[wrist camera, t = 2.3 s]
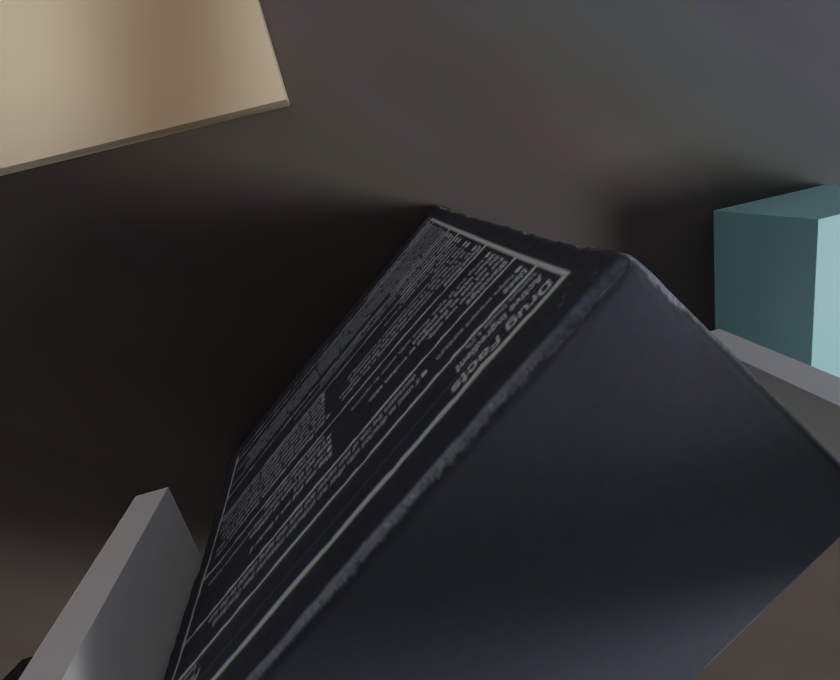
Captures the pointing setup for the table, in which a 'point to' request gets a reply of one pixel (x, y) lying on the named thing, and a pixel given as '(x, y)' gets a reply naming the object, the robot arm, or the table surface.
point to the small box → (507, 483)
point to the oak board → (126, 73)
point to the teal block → (782, 274)
